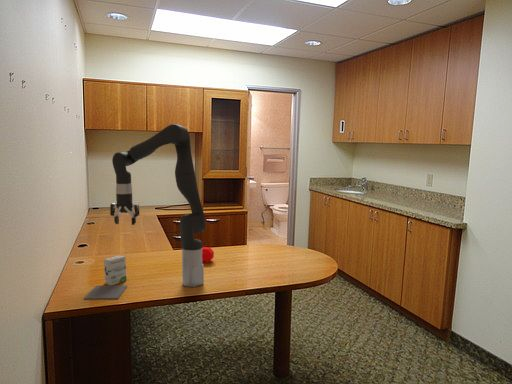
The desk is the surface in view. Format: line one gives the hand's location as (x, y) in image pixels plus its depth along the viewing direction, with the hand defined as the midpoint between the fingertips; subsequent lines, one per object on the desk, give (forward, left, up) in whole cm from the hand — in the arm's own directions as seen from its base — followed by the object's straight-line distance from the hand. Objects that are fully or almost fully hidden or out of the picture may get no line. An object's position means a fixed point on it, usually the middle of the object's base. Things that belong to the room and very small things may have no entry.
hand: (125, 224), depth 185 cm
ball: (-17, -38, -24) cm, 48 cm away
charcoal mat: (-19, +20, -24) cm, 37 cm away
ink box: (-10, +11, -24) cm, 29 cm away
